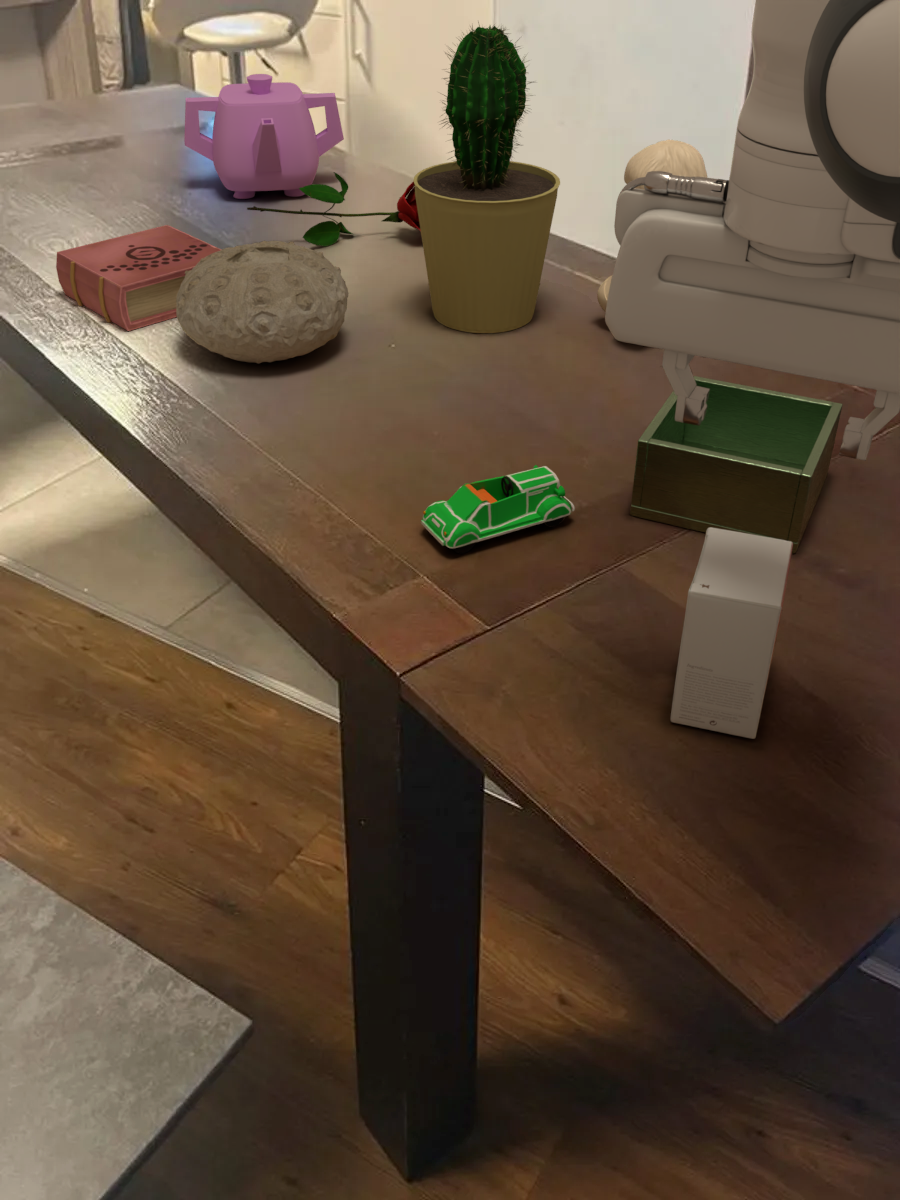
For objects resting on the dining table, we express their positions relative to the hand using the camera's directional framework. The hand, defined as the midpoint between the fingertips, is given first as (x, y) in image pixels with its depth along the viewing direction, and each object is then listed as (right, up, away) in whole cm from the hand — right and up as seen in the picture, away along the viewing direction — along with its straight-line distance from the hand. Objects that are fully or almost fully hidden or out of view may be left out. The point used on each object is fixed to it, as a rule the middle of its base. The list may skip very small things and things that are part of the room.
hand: (769, 436), depth 68 cm
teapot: (-45, +50, +103) cm, 123 cm away
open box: (+6, 0, +32) cm, 33 cm away
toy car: (-14, -4, +28) cm, 32 cm away
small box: (0, -16, +11) cm, 20 cm away
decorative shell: (-38, +18, +58) cm, 71 cm away
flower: (-29, +37, +84) cm, 96 cm away
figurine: (+3, +20, +61) cm, 64 cm away
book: (-53, +25, +68) cm, 90 cm away
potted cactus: (-15, +23, +65) cm, 70 cm away
